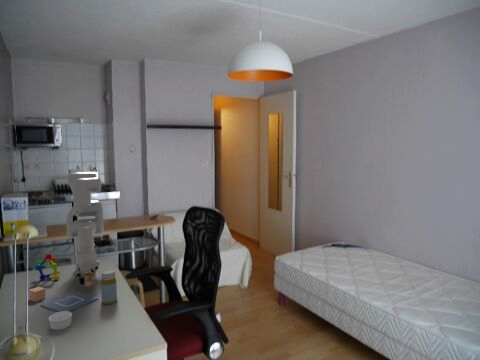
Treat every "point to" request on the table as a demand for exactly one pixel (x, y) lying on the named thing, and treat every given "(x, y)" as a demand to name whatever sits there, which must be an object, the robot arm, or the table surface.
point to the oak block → (89, 278)
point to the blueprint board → (69, 302)
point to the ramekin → (60, 320)
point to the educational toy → (53, 266)
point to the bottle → (108, 287)
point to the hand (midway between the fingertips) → (87, 281)
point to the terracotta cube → (37, 294)
